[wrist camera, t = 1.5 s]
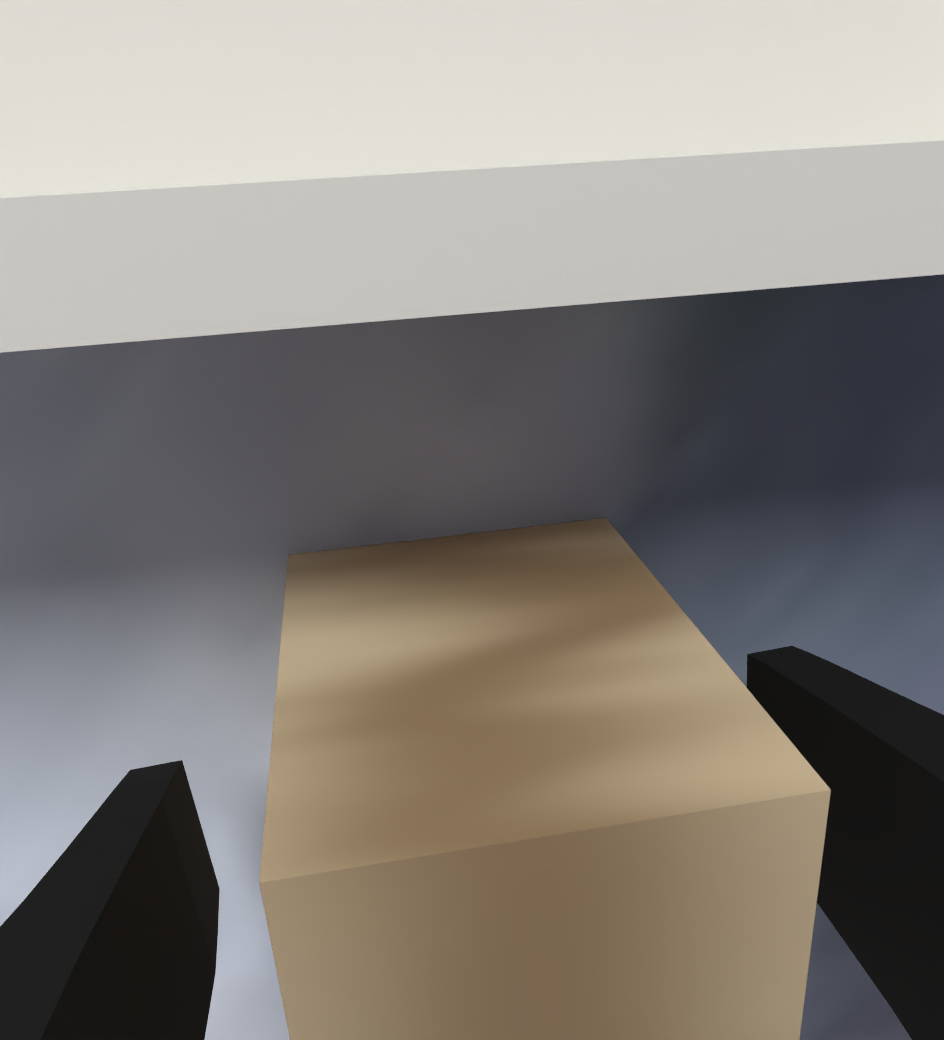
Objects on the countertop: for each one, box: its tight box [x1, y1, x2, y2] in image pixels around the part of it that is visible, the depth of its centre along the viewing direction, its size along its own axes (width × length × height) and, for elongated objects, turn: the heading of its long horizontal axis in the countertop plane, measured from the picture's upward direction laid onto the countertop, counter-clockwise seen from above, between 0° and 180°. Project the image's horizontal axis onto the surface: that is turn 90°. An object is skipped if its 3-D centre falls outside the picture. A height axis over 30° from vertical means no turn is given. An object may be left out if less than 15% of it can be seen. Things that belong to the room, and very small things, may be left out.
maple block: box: [259, 518, 831, 1040], centre depth 10 cm, size 4×4×6 cm
